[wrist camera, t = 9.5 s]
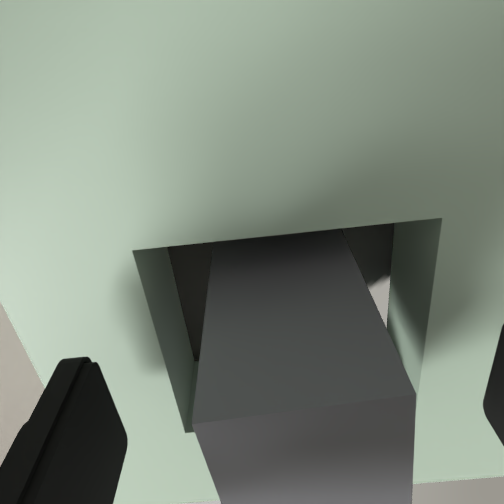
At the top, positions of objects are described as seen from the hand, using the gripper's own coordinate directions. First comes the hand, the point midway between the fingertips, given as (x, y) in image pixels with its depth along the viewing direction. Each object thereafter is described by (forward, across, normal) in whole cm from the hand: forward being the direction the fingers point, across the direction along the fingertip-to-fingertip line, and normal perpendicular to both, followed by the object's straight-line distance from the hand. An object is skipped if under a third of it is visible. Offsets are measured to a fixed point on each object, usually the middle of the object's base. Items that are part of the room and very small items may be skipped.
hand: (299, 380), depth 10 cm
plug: (+4, 0, 0) cm, 4 cm away
